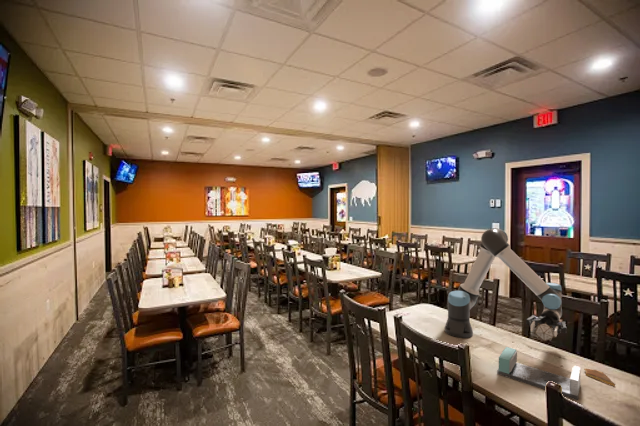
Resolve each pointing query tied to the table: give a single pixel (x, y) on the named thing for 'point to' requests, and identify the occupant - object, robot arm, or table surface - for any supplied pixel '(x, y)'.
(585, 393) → the table surface
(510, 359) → the block
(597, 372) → the shard
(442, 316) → the table surface
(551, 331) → the game die
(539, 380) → the vise bed
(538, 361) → the table surface
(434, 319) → the table surface
